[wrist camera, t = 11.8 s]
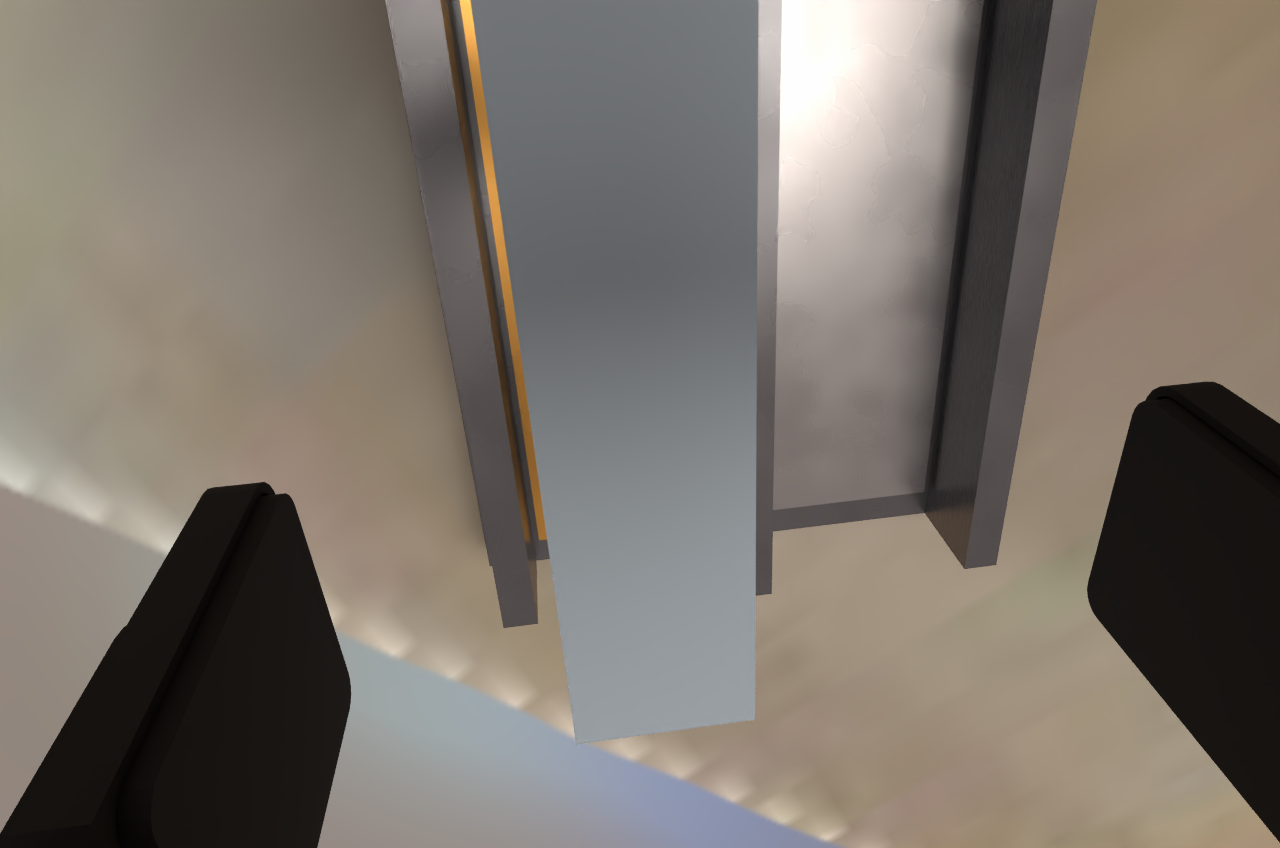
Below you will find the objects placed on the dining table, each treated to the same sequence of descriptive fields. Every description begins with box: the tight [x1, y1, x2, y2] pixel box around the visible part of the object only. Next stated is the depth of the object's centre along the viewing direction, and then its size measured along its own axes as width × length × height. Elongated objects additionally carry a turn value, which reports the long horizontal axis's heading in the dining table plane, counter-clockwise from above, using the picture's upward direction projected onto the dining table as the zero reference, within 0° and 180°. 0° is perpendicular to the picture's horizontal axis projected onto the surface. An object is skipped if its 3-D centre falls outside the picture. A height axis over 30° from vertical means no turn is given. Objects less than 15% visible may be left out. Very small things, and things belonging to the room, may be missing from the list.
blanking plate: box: [470, 0, 759, 744], centre depth 19 cm, size 18×4×9 cm, turn 4°
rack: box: [385, 0, 1097, 628], centre depth 22 cm, size 22×16×4 cm
